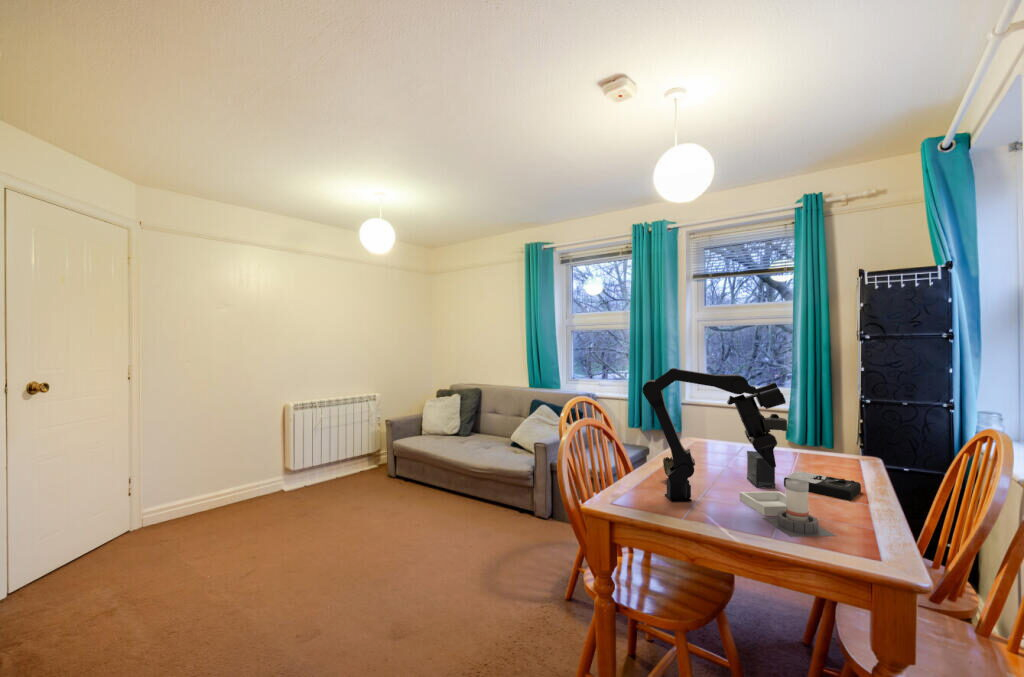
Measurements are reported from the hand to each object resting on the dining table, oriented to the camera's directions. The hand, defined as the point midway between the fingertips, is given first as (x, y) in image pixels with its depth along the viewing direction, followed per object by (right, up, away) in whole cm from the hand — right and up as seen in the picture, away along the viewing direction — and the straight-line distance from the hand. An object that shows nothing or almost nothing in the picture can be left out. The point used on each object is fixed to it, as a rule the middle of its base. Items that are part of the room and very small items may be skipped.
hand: (771, 463), depth 133 cm
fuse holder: (-2, -14, -15) cm, 20 cm away
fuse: (-2, -13, -15) cm, 20 cm away
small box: (+11, -14, +25) cm, 31 cm away
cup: (-19, -15, +27) cm, 37 cm away
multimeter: (+28, -15, +18) cm, 37 cm away
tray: (0, -14, -1) cm, 14 cm away
